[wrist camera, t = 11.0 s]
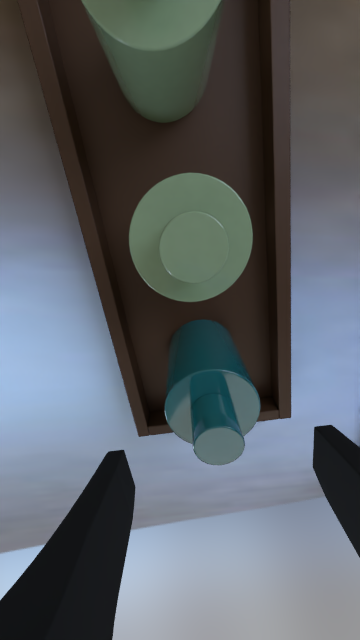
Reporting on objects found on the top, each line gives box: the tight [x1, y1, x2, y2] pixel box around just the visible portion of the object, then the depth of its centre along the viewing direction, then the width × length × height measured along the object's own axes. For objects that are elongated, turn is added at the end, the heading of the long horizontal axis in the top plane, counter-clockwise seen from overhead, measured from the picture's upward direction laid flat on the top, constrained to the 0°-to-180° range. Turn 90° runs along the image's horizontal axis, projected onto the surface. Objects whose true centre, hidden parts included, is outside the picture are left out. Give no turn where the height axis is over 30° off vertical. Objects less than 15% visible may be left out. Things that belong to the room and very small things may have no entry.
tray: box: [18, 0, 291, 437], centre depth 14 cm, size 11×26×2 cm, turn 9°
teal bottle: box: [165, 320, 261, 465], centre depth 14 cm, size 4×4×8 cm
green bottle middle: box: [129, 173, 253, 302], centre depth 11 cm, size 4×4×8 cm
